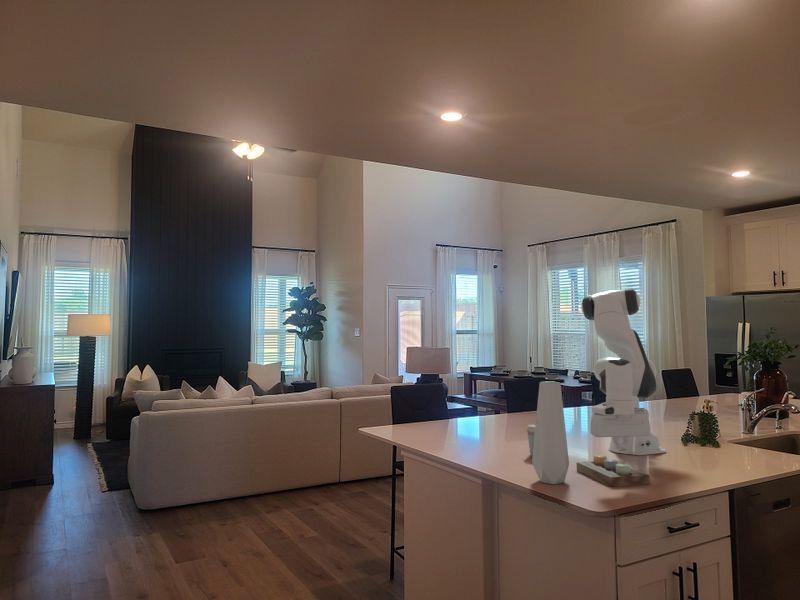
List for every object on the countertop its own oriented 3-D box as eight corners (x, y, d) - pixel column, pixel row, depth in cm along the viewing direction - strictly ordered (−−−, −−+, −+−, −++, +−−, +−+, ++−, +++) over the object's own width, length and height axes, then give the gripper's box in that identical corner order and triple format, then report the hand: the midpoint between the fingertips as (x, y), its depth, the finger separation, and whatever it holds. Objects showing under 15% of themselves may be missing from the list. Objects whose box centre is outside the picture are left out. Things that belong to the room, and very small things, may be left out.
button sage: (625, 472, 186) (624, 463, 186) (633, 475, 181) (632, 466, 181) (613, 473, 185) (613, 464, 185) (621, 476, 180) (620, 467, 181)
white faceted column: (578, 485, 180) (576, 383, 182) (545, 487, 177) (543, 384, 180) (560, 475, 192) (557, 380, 194) (529, 477, 189) (527, 381, 191)
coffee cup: (549, 458, 219) (548, 427, 220) (527, 457, 221) (526, 427, 221) (548, 453, 227) (547, 424, 228) (526, 453, 229) (526, 423, 230)
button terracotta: (602, 463, 199) (602, 454, 199) (609, 466, 195) (609, 457, 195) (591, 463, 198) (591, 455, 199) (597, 466, 194) (597, 458, 194)
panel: (611, 468, 202) (611, 460, 202) (649, 484, 180) (649, 474, 180) (576, 470, 199) (576, 461, 199) (610, 486, 178) (610, 477, 178)
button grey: (613, 467, 192) (613, 459, 193) (620, 470, 188) (620, 461, 188) (601, 468, 192) (601, 459, 192) (609, 471, 187) (608, 462, 187)
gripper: (642, 406, 189) (643, 447, 188) (587, 407, 186) (588, 449, 185) (654, 408, 183) (655, 451, 182) (597, 409, 179) (598, 453, 178)
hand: (621, 450), depth 183 cm, fingers closed
